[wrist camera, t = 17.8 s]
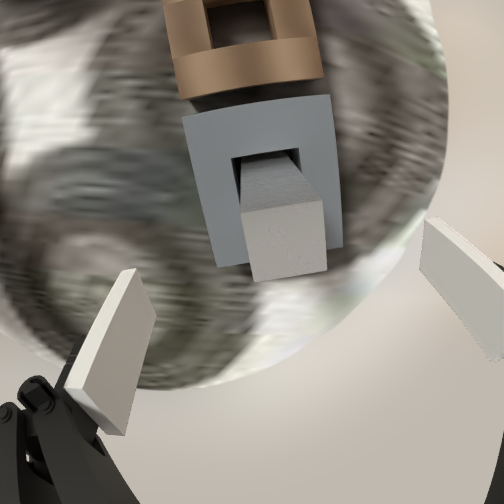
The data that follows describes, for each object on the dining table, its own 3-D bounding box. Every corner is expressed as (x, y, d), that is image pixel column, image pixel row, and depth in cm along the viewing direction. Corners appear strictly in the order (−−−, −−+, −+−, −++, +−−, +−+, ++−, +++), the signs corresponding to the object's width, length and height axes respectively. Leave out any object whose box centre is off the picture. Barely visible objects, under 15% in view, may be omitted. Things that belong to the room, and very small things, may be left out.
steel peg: (248, 193, 30) (254, 282, 16) (241, 155, 29) (240, 213, 15) (287, 187, 30) (327, 270, 16) (281, 149, 28) (322, 200, 14)
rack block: (220, 243, 33) (217, 267, 29) (191, 114, 26) (181, 117, 22) (329, 225, 32) (343, 246, 28) (315, 95, 26) (329, 94, 21)
